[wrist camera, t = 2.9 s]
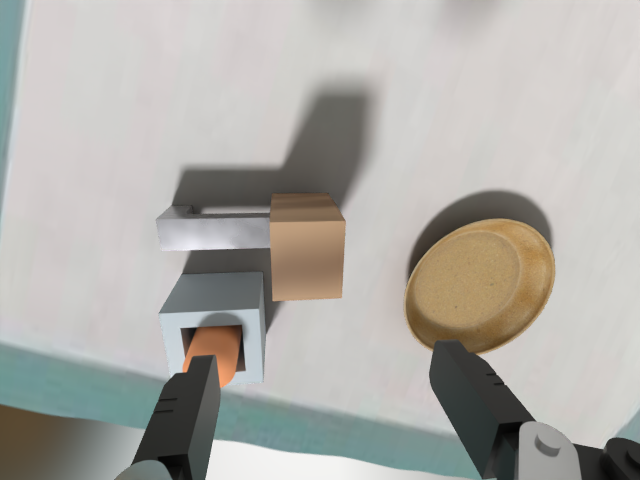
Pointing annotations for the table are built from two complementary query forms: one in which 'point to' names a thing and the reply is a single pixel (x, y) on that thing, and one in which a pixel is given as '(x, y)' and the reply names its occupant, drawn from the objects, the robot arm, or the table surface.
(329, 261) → the carriage
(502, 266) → the plant saucer
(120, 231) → the table surface
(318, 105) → the table surface
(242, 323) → the grey hollow block
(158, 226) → the handrail
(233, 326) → the button
